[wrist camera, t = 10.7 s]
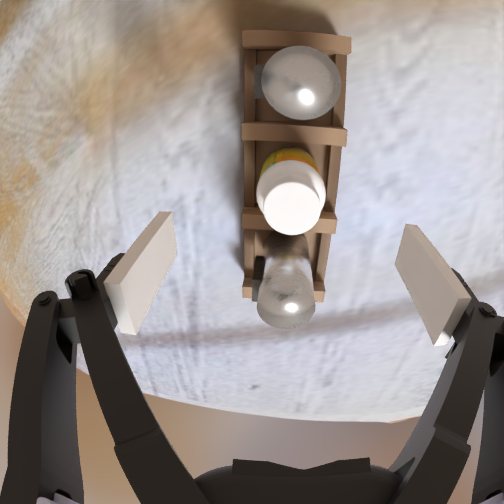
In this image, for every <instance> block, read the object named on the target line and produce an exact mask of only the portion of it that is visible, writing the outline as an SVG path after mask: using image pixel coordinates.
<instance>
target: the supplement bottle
mask: <svg viewBox="0 0 504 504" xmlns="http://www.w3.org/2000/svg"><path fill="white" fill-rule="evenodd" d="M256 196H257V202H258V205H259V208H260V210H261V211H262V213H263V214H264V216H265V219H266V221H267V222H268V224H269V225H270V226H271V227H272V228H273V229H275V230H276V231H278V232H280V233H283V234H287V235H297V234H301V233H304V232H306V231H308V230H310V229H311V228H312V227H313V226H314V225H315V224H316V222H317V221H318V219H319V217H320V213H321V210H322V208H323V206H324V203H325V197H326V191H325V186H324V182H323V179H322V177H321V175H320V172H319V170H318V168H317V165H316V163H315V161H314V159H313V158H312V156H311V155H310V154H309V153H307V152H306V151H305V150H303V149H301V148H298V147H293V146H287V147H281V148H279V149H276V150H275V151H273V152H272V153H271V154H270V155H269V156H268V157H267V159H266V160H265V162H264V165H263V168H262V171H261V174H260V178H259V182H258V185H257V192H256Z"/></svg>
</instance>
